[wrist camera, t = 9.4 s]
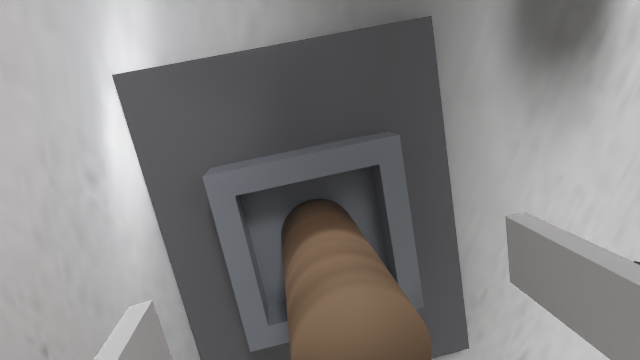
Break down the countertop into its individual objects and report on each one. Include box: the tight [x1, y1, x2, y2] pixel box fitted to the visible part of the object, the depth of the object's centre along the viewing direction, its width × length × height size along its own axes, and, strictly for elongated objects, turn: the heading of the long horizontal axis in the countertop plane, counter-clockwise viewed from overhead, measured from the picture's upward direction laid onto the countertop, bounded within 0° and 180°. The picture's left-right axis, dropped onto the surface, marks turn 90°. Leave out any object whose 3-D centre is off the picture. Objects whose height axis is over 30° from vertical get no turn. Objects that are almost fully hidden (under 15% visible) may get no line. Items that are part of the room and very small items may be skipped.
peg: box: [281, 199, 432, 360], centre depth 15 cm, size 4×4×10 cm
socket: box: [112, 16, 469, 360], centre depth 20 cm, size 20×16×3 cm
